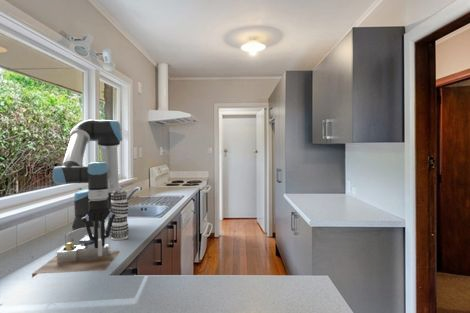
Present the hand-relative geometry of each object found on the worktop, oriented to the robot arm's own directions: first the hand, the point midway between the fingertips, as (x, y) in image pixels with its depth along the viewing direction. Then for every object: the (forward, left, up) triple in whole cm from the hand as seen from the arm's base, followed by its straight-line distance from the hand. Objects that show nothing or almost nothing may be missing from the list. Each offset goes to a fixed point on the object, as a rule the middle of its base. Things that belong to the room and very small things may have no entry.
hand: (99, 254), depth 117 cm
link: (-3, -7, -2) cm, 7 cm away
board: (+1, -7, -3) cm, 8 cm away
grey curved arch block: (-21, -14, -3) cm, 25 cm away
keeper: (-4, -6, -3) cm, 8 cm away
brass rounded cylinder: (-3, -13, -3) cm, 14 cm away
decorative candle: (-32, -1, -3) cm, 32 cm away
